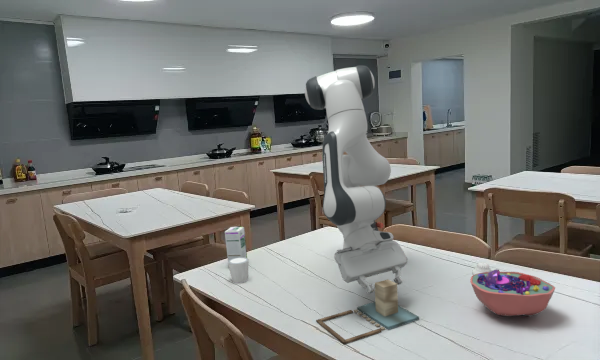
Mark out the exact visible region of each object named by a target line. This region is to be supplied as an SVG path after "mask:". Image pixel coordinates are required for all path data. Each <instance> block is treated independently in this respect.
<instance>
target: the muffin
mask: <svg viewBox="0 0 600 360" xmlns="http://www.w3.org/2000/svg"><path fill="white" fill-rule="evenodd" d="M490 271H493V270H492V269H491V268H490V265H489V263H486V262H478V263H477V264H476V267H475V268H474V269H473V270H472V272H471V274H472V276H473V275H475V274H478V273H483V272H490Z"/></svg>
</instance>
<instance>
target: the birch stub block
mask: <svg viewBox="0 0 600 360" xmlns="http://www.w3.org/2000/svg"><path fill="white" fill-rule="evenodd" d="M398 293H399V292H398V285H397V284H396V283H395V282H394V281H393V280H390V279H384V280H380V281H376V282H374V299H375V300H374V302H375V303H376V311H377V312H378V313H380V314H382V315H383V316H388V315H391V314H394V313H397V312H398V305H399V300H398V297H399V296H398Z"/></svg>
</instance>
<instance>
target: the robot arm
mask: <svg viewBox="0 0 600 360" xmlns="http://www.w3.org/2000/svg"><path fill="white" fill-rule="evenodd" d="M375 82H376V81H375V77H374V75H373V72H372V70H370V68H369V67H368V66H367V65H356V66H353V67H344V68H339V69H335V70H333V71H330V72H327V73H323V74H321V75H319V76H312V77H311V78H309V79H307V81H306V82H305V86H304V87H305V88H304V96H305V99H306V102H307V103H308V105H309V106H310V108H312V109H314V110H317V111H318V110H319V111H321V110H322V111H323V110H324V109H325V110H326V111H325V112H326V117H327V123H328V131H327V134H326V135H324V137H323V140H322V146H321V147H322V149H321V150H322V172H323V174H322V175H323V176H322V177H323V198H322V199H323V200H322V209H323V214H324V215H325V218H326V219H328V221H329V222H331V223H332V224H334V225H335V226H336V227H337V229H338V231H339V232H340V233H341V234H342V237H343V247H342V249H338V250H336V252H335V253H334V260H335V263H336V264H337V265H338V269H339V272H340V275H341V277H342V280H343V281H344V282H345V283H347V284H348V283H351V282H352V283H353V282H355V281H356V282H357V284H358V285H359V286H361V287H362V288H363V289H364V290H365V291H366V293H367V294H372V293H374V292H375V287H374V286H373V283H371V284H370V283H368V282H367V281H366V279H367V278H370V277H373V276H378V275H380V274H381V275H382V274H383V273H388V272H392V273H393V274H394V275H395V278H394V279H393V282H394V283H396V284H397V286H399V285H402V284H403V282H404V280H403V279H402V277H401V274H402V273H401V269H402V268H403V267H405V265H407V264H408V257H407V255H406V253H405V251H404V249H403V248H402V246H401V245H400V244H399V243H398V241H396V240H394V237H395V236H394V235H393V233H392V232H389V231H381V230H379V229H383V228H384V226H385V225H384V223H383V222H381V221H376V220H378V219H379V218H380V217H382V216H383V215H384V213H385V210H386V209H387V208H386V207H387V200H386V197H385V194H384V193H383V190H381V189H380V187H378V186H380V185H382V186H383V185H384V184H386V183H387V182H388V181H389V179H390V177H391V172H392V169H391V168H392V167H391V164H390V162H389V160H388V159H387V158H386V157H385V156H383V155H381V154H380V153H379V152H377V150H376V149H375V148H374V147H373V145H372V144H371V143H370V141H369V139H368V136H367V133H368V121H367V119H368V118H367V115H366V112H365V107H364V104H363V101H364V100H366V99H368V98H369V97H371V96H372V95H373V94H374V89H375ZM344 153H346V154H344Z"/></svg>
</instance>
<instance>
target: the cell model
mask: <svg viewBox="0 0 600 360" xmlns="http://www.w3.org/2000/svg"><path fill="white" fill-rule="evenodd" d="M470 284H471V286H472V289H473V292H474V294H475V297H476V298H477V300H479V302H480V303H481V304H482V305H483V306H484V307H485V308H487V309H488V310H489V311H491V312H492V313H494V314H496V315H497V316H503V317H505V316H506V317H515V316H525V317H528V316H529V317H530V316H531V317H532V316H535V315H538V314H540V313H542V312H543V311H544V310H545V309H547V307H548V305H549V302H550V300H551V299H552V298H553V294H554V293H555V290H556V287H555V286H554V285H552V284H551V283H549V282H547V281H545V280H544V279H542V278H540V277H537V276H535V275H531V274H527V273H523V272H518V271H501V270H500V269H496V268H495V269H493V270H492V271H490V272H483V273H478V274H475V275H473V274H472V276H471V277H470Z"/></svg>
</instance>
